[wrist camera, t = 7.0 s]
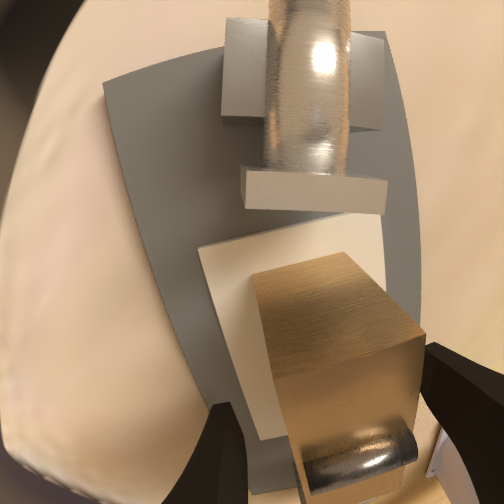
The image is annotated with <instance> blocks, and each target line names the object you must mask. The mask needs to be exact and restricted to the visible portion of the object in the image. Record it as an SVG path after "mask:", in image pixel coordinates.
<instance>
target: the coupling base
mask: <svg viewBox="0 0 504 504" xmlns="http://www.w3.org/2000/svg"><path fill="white" fill-rule="evenodd" d="M351 32H353V33H358V34H362V35H367V36H371V37H375V38H379V39H383V40H384V71H385V90H384V127H383V131H369V132H355V133H350V134H349V151H348V166H347V171H350V172H354V173H358V174H363V175H367V176H371V177H375V178H379V179H383V180H387V181H388V185H387V195H386V204H385V213H384V215H376V214H360V213H342V212H322V211H299V210H271V209H245V206H244V203H243V199H242V196H241V193H240V164H263V143H264V126H249V125H223V123H222V118H221V104H222V83H223V64H224V47H225V46H223V47H219V48H214V49H210V50H205V51H201V52H197V53H193V54H189V55H186V56H182V57H178V58H175V59H171V60H168V61H164V62H161V63H158V64H154V65H151V66H148V67H145V68H142V69H139V70H136V71H133V72H130V73H128V74H125V75H122V76H119V77H117V78H114V79H111V80H109V81H106V82H104V83H102V84H103V89H104V94H105V99H106V104H107V109H108V114H109V118H110V123H111V127H112V132H113V136H114V140H115V145H116V149H117V153H118V157H119V161H120V165H121V169H122V172H123V176H124V180H125V184H126V187H127V191H128V195H129V198H130V202H131V205H132V208H133V212H134V215H135V219H136V222H137V225H138V228H139V232H140V235H141V238H142V241H143V244H144V247H145V250H146V254H147V257H148V260H149V263H150V265H151V268H152V271H153V274H154V277H155V280H156V283H157V286H158V288H159V291H160V294H161V297H162V300H163V302H164V305H165V308H166V310H167V313H168V316H169V318H170V321H171V323H172V326H173V329H174V331H175V334H176V336H177V339H178V341H179V344H180V346H181V349H182V351H183V353H184V356H185V358H186V361H187V363H188V365H189V368H190V370H191V372H192V375H193V377H194V379H195V382H196V384H197V386H198V388H199V391H200V393H201V395H202V397H203V399H204V402H205V404H206V406H207V408H208V410H209V412H210V409H211V407H212V405H213V404H218V403H224V402H231V405H232V407H233V410H234V412H235V415H236V417H237V420H238V422H239V425H240V427H241V429H242V432H243V434H244V439H245V445H246V453H247V463H248V488H249V490H250V492H251V494H252V495H256V494H262V493H268V492H274V491H279V490H284V489H289V488H294V487H297V482H296V478H295V473H294V468H293V464H294V463H295V459H294V456H293V452H292V448H291V445H290V441H289V438H288V434H287V430H286V427H285V423H284V419H283V415H282V412H281V408H280V404H279V401H278V397H277V393H276V390H275V386H274V382H273V377H272V373H271V368H270V363H269V358H268V353H267V348H266V343H265V338H264V333H263V328H262V323H261V318H260V313H259V308H258V303H257V297H256V292H255V287H254V282H253V277H252V274H254V273H259V272H263V271H267V270H271V269H275V268H279V267H283V266H287V265H291V264H295V263H299V262H303V261H307V260H311V259H315V258H319V257H323V256H327V255H331V254H335V253H339V252H343V251H344V252H345V253H346V254H347V255H348V256H349V257H350V258H351V259H352V260H353V261H354V262H355V263H357V264H358V265H359V266H360V267H361V268H362V269H363V270H364V271H365V272H366V273H367V274H368V275H369V276H370V277H371V278H372V279H373V280H374V281H375V282H376V283H377V284H378V285H379V286H380V287H381V288H382V289H383V290H384V291H385V292H386V293H387V294H388V295H389V296H390V297H391V298H392V299H393V300H394V301H395V302H396V303H397V304H398V305H399V306H400V307H401V308H402V309H403V310H404V311H405V312H406V313H407V314H408V315H409V316H410V317H411V318H412V319H413V320H414V321H415V322H416V323H417V324H418V325H419V326H420V313H421V245H420V225H419V211H418V199H417V189H416V179H415V171H414V163H413V156H412V149H411V143H410V136H409V131H408V125H407V119H406V114H405V109H404V104H403V99H402V95H401V90H400V86H399V82H398V77H397V73H396V69H395V66H394V62H393V58H392V54H391V51H390V47H389V44H388V40H387V37H386V34H385V31H351Z"/></svg>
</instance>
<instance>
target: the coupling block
mask: <svg viewBox="0 0 504 504" xmlns="http://www.w3.org/2000/svg"><path fill="white" fill-rule="evenodd" d="M252 277H253V282H254V287H255V292H256V297H257V303H258V308H259V313H260V318H261V323H262V328H263V333H264V338H265V343H266V348H267V353H268V358H269V363H270V368H271V373H272V377H273V382H274V386H275V390H276V393H277V397H278V401H279V404H280V408H281V412H282V415H283V419H284V423H285V427H286V430H287V434H288V438H289V441H290V445H291V448H292V452H293V456H294V459H295V463H296V467H297V470H298V474H299V477H300V481H301V485H302V488H303V492H304V495H305V499H306V502H307V504H357V503H361V502H364V501H367V500H370V499H372V498H375V497H378V496H381V495H383V494H386V493H389V492H391V491H394V490H396V489H399V487H400V483H401V479H402V476H403V472H404V468H405V465H407V464H410V463H412V462H414V461H416V460H417V458H418V447H417V443H416V440H415V437H414V435H413V428H414V423H415V418H416V412H417V406H418V400H419V394H420V387H421V379H422V371H423V362H424V353H425V341H426V333H425V332H424V331H423V330H422V329H421V328H420V326H419V325H418V324H417V323H416V322H415V321H414V320H413V319H412V318H411V317H410V316H409V315H408V314H407V313H406V312H405V311H404V310H403V309H402V308H401V307H400V306H399V305H398V304H397V303H396V302H395V301H394V300H393V299H392V298H391V297H390V296H389V295H388V294H387V293H386V292H385V291H384V290H383V289H382V288H381V287H380V286H379V285H378V284H377V283H376V282H375V281H374V280H373V279H372V278H371V277H370V276H369V275H368V274H367V273H366V272H365V271H364V270H363V269H362V268H361V267H360V266H359V265H358V264H357V263H355V262H354V261H353V260H352V259H351V258H350V257H349V256H348V255H347V254H346V253H345V252H344V251H343V252H339V253H335V254H331V255H327V256H323V257H319V258H315V259H311V260H307V261H303V262H299V263H295V264H291V265H287V266H283V267H279V268H275V269H271V270H267V271H263V272H259V273H254V274H252Z"/></svg>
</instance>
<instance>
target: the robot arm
mask: <svg viewBox="0 0 504 504" xmlns="http://www.w3.org/2000/svg"><path fill="white" fill-rule="evenodd" d="M420 392H421V394H422V396H423V398H424V400H425V402H426V404H427V406H428V407H429V409H430V410H431V412H432V413H433V415H434V416H435V418H436V419H437V421H438V422H439V423H440V425H441V426H442V427H441V431H440V434H439V437H438V440H437V443H436V447H435V450H434V452H433V455H432V458H431V461H430V464H429V467H428V469H427V472H426V475H425V476H426V478H431V477H433V476H435V475H436V476H437V478H438V480H439V482H440V484H441V486H442V487H443V489H444V491H445V493H446V495H447V497H448V499H449V501H450V502H451V504H504V375H503V374H501V373H498V372H496V371H493V370H491V369H488V368H486V367H484V366H482V365H480V364H478V363H475V362H473V361H471V360H469V359H467V358H465V357H463V356H461V355H459V354H458V353H456V352H454V351H452V350H450V349H448V348H446V347H444V346H442V345H440V344H438V343H436V342H433V343H430V344H428V345H425V353H424V362H423V371H422V379H421V387H420ZM161 504H248V463H247V453H246V445H245V439H244V434H243V432H242V429H241V427H240V425H239V422H238V420H237V417H236V415H235V412H234V410H233V407H232V405H231V402H224V403H218V404H213V405H212V407H211V409H210V412H209V415H208V418H207V421H206V424H205V426H204V429H203V431H202V434H201V436H200V439H199V441H198V443H197V445H196V447H195V450H194V452H193V454H192V456H191V458H190V460H189V462H188V463H187V465H186V467H185V469H184V471H183V473H182V474H181V476H180V478H179V479H178V481H177V483H176V484H175V486H174V487H173V489H172V490H171V491H170V493H169V494H168V496H167V497H166V498H165V500H164V501H163V502H162V503H161Z"/></svg>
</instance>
